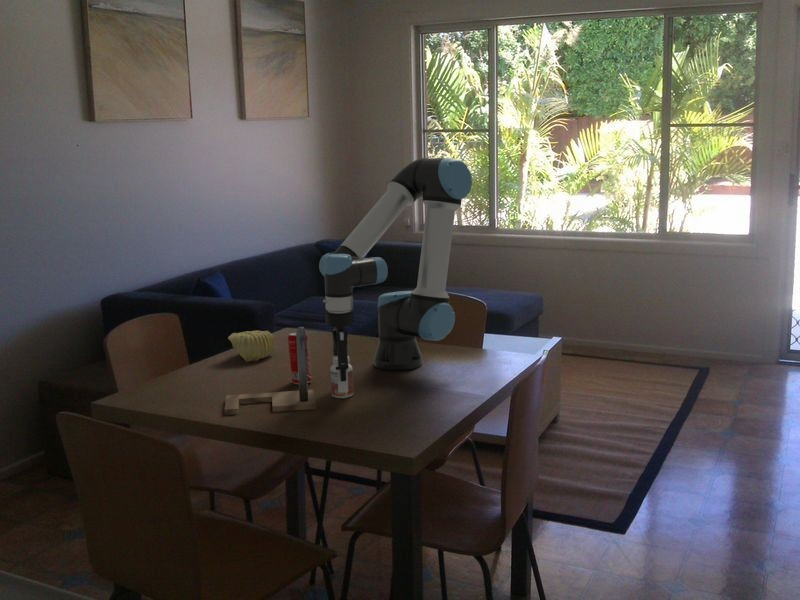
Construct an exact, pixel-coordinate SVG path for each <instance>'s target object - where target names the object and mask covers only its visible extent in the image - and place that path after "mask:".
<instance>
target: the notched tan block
mask: <svg viewBox="0 0 800 600" xmlns="http://www.w3.org/2000/svg"><path fill="white" fill-rule="evenodd" d="M260 403H272V405H271V406H272V412H273V413H276V412H288V411H291V412H292V411H303V410H317V404H316V398H315V392H314V389H308V401H306V402H301V401H300V400H299V390H289V391H288V390H287V391H274V392H260V393H259V392H257V393H244V394H243V393H242V394H241V393H240V394H231V395H230V394H228V395H226V397H225V404H224V416H230V415H231V416H232V415H239V413H240V412H239V411H240V405H247V404H260Z"/></svg>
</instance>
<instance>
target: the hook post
mask: <svg viewBox="0 0 800 600" xmlns="http://www.w3.org/2000/svg"><path fill="white" fill-rule="evenodd" d="M295 332H296V338H297V359H298V379H299V384H298V391H299V400H300V401H301V402H306V401H308V390H309V383H308V380H307V358H306V337H305V332H306V329H305V327H304V326H298V327H297V329H296V330H295Z"/></svg>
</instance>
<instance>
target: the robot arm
mask: <svg viewBox="0 0 800 600" xmlns="http://www.w3.org/2000/svg"><path fill="white" fill-rule="evenodd" d="M472 187H473V178H472V173H471V171H470V169H469V168H468V165H467V164H466V163H465V162H464V161H462V160H461V159H457V158H451V157H436V158H435V157H433V158H432V157H421V158H418V159H416V160H414V161H412V162H410V163H408V164H407V165H406V166H405V167H403V168H402V169H401V170H400V171H398V173H397V174H396V175H395V176H394V177H392V179H391V180H390V181H389V182H388V184H387V188H386V189H387V190H386V191H385V192H384V194H383V195H382V196H381V197H380V198H379V199H378V200H377V201H376V203H375V204H374V206H373V207H372V208H370V210H369V211H368V212H367V214H366V215H365V216H364V217H363V219H362V220H360V222H359V223H358V225H356V227H354V229H353V230H352V232H351V233H349V234H348V236H347V237H346V238H345V239H344V241H343V242H342V243H341V244H340V245H339V247H337V249H336V250H335V251H334V252H327V253H325V254H324V255H322V256H321V258H320V260H319V264H318V269H319V272H320V273H321V275H322V276H323V278H324V295H325V297H324V299H323V300H322V303H325V310H326V312H325V324H326V326H329V327H331V328H332V327H333V330H332V331H331V335H332V342H333V349H332V352H333V357H334V356H337V357H338V367H336V370H338V393H341V392H348V367H349V365H348V356H349V355H348V330H347V329H345V328H346V327H349V326H352V325H353V324H354V312H353V309H354V297H353V294H354V291H353V288H357V287H363V286H364V287H365V286H371V285H372V286H373V285H377V284H381V283H384V281H386V280H387V277H388V274H389V272H388V270H389V268H388V264H387V262H386V261H385V259H383V258H382V257H379V256H375V257H373V256H371V257H366V255H368V253H369V252H370V250H371V249H372V248H373V247H374V246H375V244H376V243H377V242H378V241H379V240H380V239H381V238H382V236H383V235H384V234H385V233H386V232H387V230H388V229H389V228H390V226H391V225H392V224H393V223H394V222H395V221H396V220H397V218H398V217H399V216H400V214H402V212H403V211H404V210H405V209H406V207H410V206H412V205H414V203H415V202H416V201H417V200H418V199H421V198H422V201H421V202H422V203H423V205H424V206H425V208H426V210H425V219H424V227H423V235H422V240H421V241H422V242H421V248H420V249H421V252H420V258H419V267H418V274H417V275H418V276H417V283H416V284H417V285H416V287H415V288H414V290H403V291H401V290H400V291H393V292H387V293H383V294H381V295H379V297H378V298H377V299H378V300H377V307H376V308H377V319H378V320H377V321H378V322H377V323H378V324H377V325H378V343H377V347H376V350H375V354H374V356H373V364H374V365H373V366H374V367H375V368H378V369H380V370H385V371H407V370H412V369H413V370H414V369H416V368H419V367H421V366H422V365H423V355H422V353H421V350H420V347H419V345H418V342H417V338H418V339H421V340H425V341H433V342H436V341H437V342H438V341H441V340H443V339H445V338H446V337H447V335H449V334H450V333H451V332H452V330H453V328H454V325H455V322H456V313H455V311H454V308H453V306H451V305H450V296H449V294H448V293H447V291H446V287H447V279H448V271H449V264H450V255H451V247H452V239H453V231H454V223H455V214H456V211H457V210H458V209H460V208H461V207H462V201H463V199H465V198H466V197H467V196H468V194H469V193H470V192H471V190H472Z"/></svg>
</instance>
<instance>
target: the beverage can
mask: <svg viewBox="0 0 800 600" xmlns="http://www.w3.org/2000/svg"><path fill="white" fill-rule="evenodd" d="M305 337H306V358H307V380H308V384H309V383H311V382H312V380H313V379H312V370H311V361H310V352H309V350H310V349H309V339H308V334H307V333H306V331H305ZM287 344H288V353H289V362H290V373H291V382H292V383H293V384H294V385H299V379H298V359H297V338H296V331H293V332H289V333H288V337H287Z"/></svg>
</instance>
